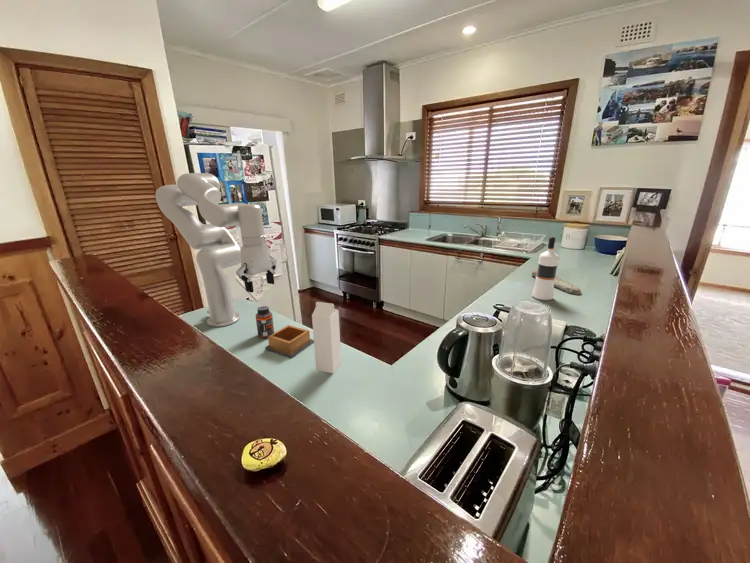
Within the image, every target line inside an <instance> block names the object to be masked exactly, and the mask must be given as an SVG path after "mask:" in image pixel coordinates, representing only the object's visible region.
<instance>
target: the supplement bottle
mask: <svg viewBox="0 0 750 563" xmlns="http://www.w3.org/2000/svg"><path fill="white" fill-rule="evenodd" d="M255 321H256V323H255V324H256V328H257V330H256V331H257V336H258V337H259V338H260V339H261V338H262V339H268V336H270V335H272V334H273V333H275V327H274V319H273V313H272V312H271V311H270V308H269V306H267V305H263V306H259V307H257V312H256V314H255Z"/></svg>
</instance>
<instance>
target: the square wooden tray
mask: <svg viewBox="0 0 750 563" xmlns="http://www.w3.org/2000/svg"><path fill="white" fill-rule="evenodd" d="M310 336H311V335H310V330H309V329H305V328H300V327H297V326H294V325H293V326H292V325H289V324H288V325H286V326H284V327H282V328H281V329H279V330H277V331H276V332H275V331H274V333H273V334H272V335H270V336H268V338H267V339H268V345H266V346H265V351H269V352H270V353H274V354H277V355H279V356H283V357H284V358H288V359H293V358H294V357H296V356H297V355H299V354H300V353H301V352H303V351H304V350H306V349H307V348H308V347H310V346H311V345H314V339H312V338H311V337H310Z"/></svg>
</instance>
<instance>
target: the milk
mask: <svg viewBox="0 0 750 563" xmlns="http://www.w3.org/2000/svg"><path fill="white" fill-rule="evenodd" d="M339 313H340V312H339V309H337V308H335V305H334V303H330V302H329V303H327V302H320V301H316V302H315V307H314V311H313V312H312V313H311V322H312V332H313V333H312V335H313V336H312V337H313V340H314V343H313V345H314V358H315V359H314V360H315V370H316V371H318V372H323V373H328V374H335V372H336V370H338V369H339V367H340V366H341V364H342V353H341V352H342V351H341V334H340V332H341V330H340V314H339ZM339 365H340V366H339Z"/></svg>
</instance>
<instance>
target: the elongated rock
mask: <svg viewBox="0 0 750 563" xmlns="http://www.w3.org/2000/svg"><path fill="white" fill-rule="evenodd" d="M531 276H533V277H534V278H535V279H536V277H537V270H532V271H531ZM554 287H555V288H557V289H559V290H560V291H563V292H565V293H569V294H571V295H581V292H582V290H581V288H579V287H578V286H577V285H574V284H572V283H570V282H568V281H567V280H566V281H565V280H563V279H562V278H560V277H559V276H558V275H556V276H555V282H554Z"/></svg>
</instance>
